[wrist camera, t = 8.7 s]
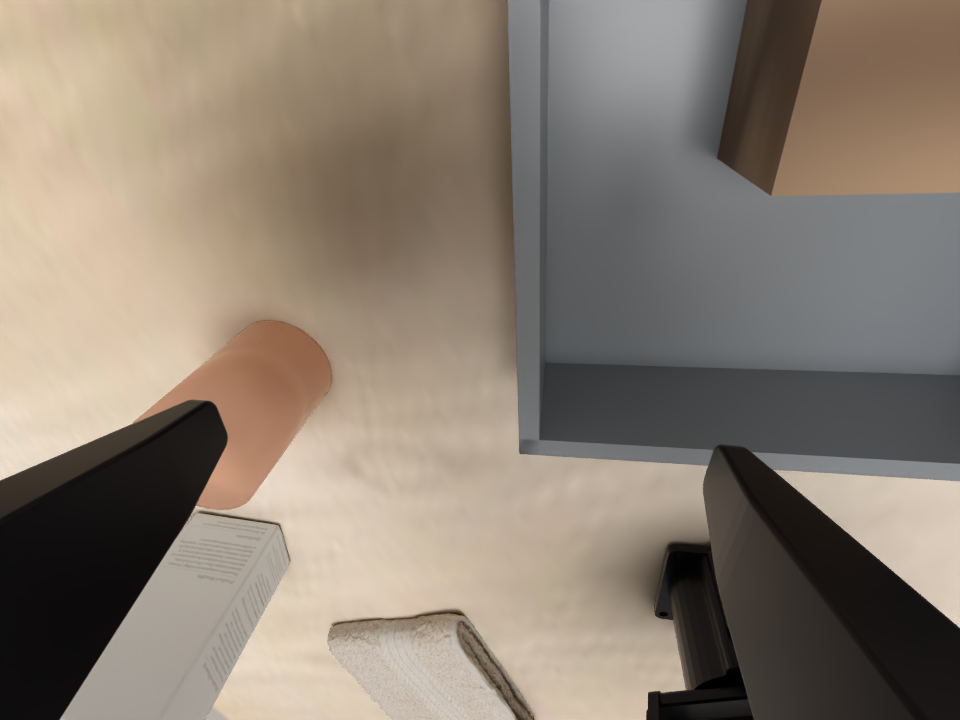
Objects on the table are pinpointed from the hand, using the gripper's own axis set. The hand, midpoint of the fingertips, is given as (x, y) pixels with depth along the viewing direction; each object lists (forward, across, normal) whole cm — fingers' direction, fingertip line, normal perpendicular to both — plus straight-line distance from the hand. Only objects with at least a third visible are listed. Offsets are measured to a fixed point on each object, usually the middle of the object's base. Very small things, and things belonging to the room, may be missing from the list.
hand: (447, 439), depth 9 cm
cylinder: (+12, +11, +7) cm, 18 cm away
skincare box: (+12, +18, +21) cm, 30 cm away
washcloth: (+13, +5, +37) cm, 39 cm away
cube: (+11, -9, -5) cm, 16 cm away
